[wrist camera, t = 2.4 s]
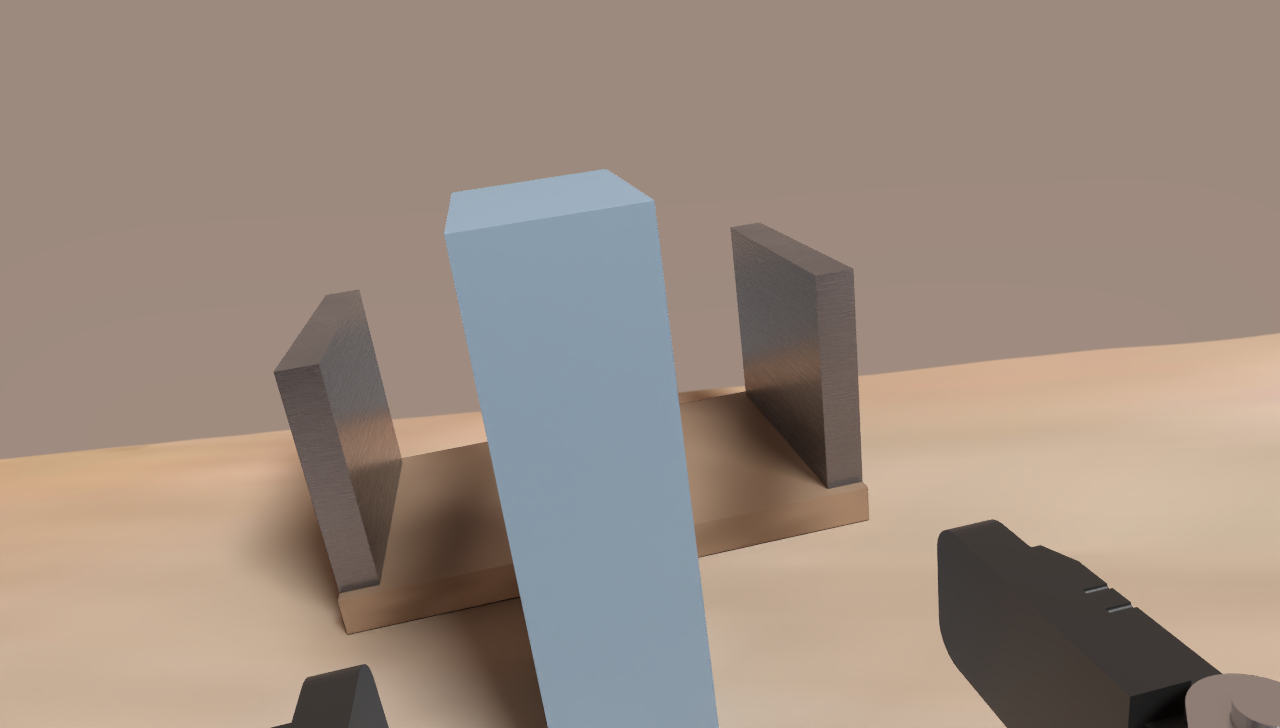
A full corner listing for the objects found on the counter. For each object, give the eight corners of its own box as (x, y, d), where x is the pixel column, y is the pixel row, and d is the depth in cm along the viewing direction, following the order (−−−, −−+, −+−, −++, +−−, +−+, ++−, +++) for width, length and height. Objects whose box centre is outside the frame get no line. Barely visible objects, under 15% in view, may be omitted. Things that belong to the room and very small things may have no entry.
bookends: (339, 593, 32) (273, 371, 29) (371, 468, 42) (326, 295, 39) (862, 481, 34) (853, 268, 31) (773, 389, 45) (759, 222, 42)
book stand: (347, 634, 32) (337, 601, 31) (380, 490, 43) (373, 464, 42) (868, 519, 34) (867, 487, 34) (771, 411, 46) (769, 386, 45)
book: (565, 811, 23) (444, 234, 17) (545, 649, 29) (452, 192, 24) (723, 771, 24) (654, 200, 18) (669, 620, 30) (606, 168, 25)
